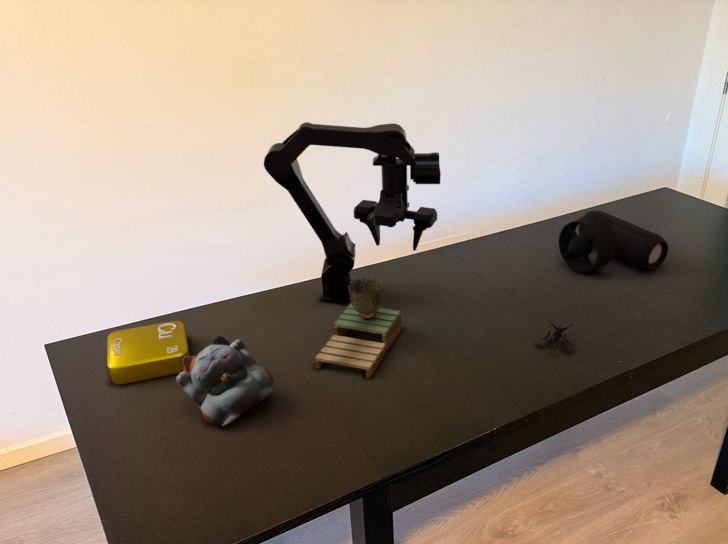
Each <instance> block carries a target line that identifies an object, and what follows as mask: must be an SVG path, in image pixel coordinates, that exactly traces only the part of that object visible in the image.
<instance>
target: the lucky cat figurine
mask: <svg viewBox="0 0 728 544" xmlns="http://www.w3.org/2000/svg"><path fill="white" fill-rule="evenodd" d="M175 380H176V383H177V384H178V386H180V387H181V388H182V389H183V391H184V392H185V393H186V395H188V396H189V397H190V399H191V400H192V401H193V402H194V403H195V404H196V405H197V407H198V408H199V409H200V411H201V413H202V416H203V418H204V419H205V420H206V422H207V423H209V424H211V425H217V426H220V427H224V426H226V425H228V424H230V423H232V422H234V421H235V420H236V419H237V418H239V417H240V416H241V415H242V414H244V413H245V412H247V411H248V410H249V409H251V408H253V407H254V406H256V405H258V404H259V403H260V402H262V401H263V400H265V399H266V397H268V396H269V395H270V394H271V393H272V392H273V391H274V389H275V381H274V378H273V376H272V374H271V373H270V372H269V370H268V369H266V368H264V367H262V366H260V365H258V362H257V361H256V359H255V357H254V356H253V355H252V353H251V352H250V351H249V349H248V348H247V346H246V344H245V342H244V341H243V339H235V340H234V341H233V342H232V343H231V342H230V341H229V340H228V339H226V338H225V337H224V336H221V335H217V336H215V338H214V340H212V343H211V344H210V345H207V346H205V347H204V348H203V349H202V350H201V351H199V352H198V353H197V354H196V355H190V356H186V357H183V366H182V370H181V371H180V373H178V375H177V376H176V378H175Z"/></svg>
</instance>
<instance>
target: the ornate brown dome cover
mask: <svg viewBox="0 0 728 544" xmlns="http://www.w3.org/2000/svg"><path fill="white" fill-rule="evenodd" d="M350 283H351V286H349V285H348V289H349V294H350V298H349V299H350V302H351V304H352V306H353V308H354V309H355V310H356V311H357V312H358V313H359V316H360V318H362V319H364V320H370V319H373V318H374V317H375V315H376V311H377V310H378V309H379V308H381V306H382V302H383V291H384V284H383V281H380V279H377V280H376V279H375V278H374V277H372V278H371V277H370V276H368V277H367V278H365V277H362V278H361V279H360V278H358V277H356V278H355V279H354V280H352V281H351V282H350Z"/></svg>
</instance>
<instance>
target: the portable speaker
mask: <svg viewBox="0 0 728 544" xmlns="http://www.w3.org/2000/svg"><path fill="white" fill-rule="evenodd" d="M590 214H592V215H597V216H599V217H601V218H603V219H604V220H605V221H606V222H607V223H608V224H609V225H610V227H611V228H612V230H613V232H614V235H615V240H616V250H615V253H614V256H613V257H616V258H618V259H619V260H622V261H624V262H626V263H628V264H630V265H632V266H634V267H637V268H638V269H641V270H646V271H647V270H651V271H652V270H653V271H655V270H656V269H659V268H660V267H661V265H663V263H664V261H665V260H666V259H667V256H668V252H669V243H668V242H667V240H665V239H664V238H663V237H662V235H660V234H658V233H656V232H653V231H651V230H648V229H646V228H644V227H641V226H639V225H637V224H634V223H632V222H629V221H627V220H624V219H622V218H619V217H617V216H616V215H612V214H611V213H607V212H605V211H602V210H590V211H588V212H586V213H585V214H584V215H583V216H585V215H590ZM580 234H586V235H587V236H589V237H590V238H591V237H593V236H594V235H593V233H592V232H591V231H590V230H589V229H588V228H587V227H585V226H584V225H581V224H579V225H578V235H580ZM592 243H593V248H596V249H598V246H597V242H596V239H593V240H592Z"/></svg>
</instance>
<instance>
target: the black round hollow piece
mask: <svg viewBox="0 0 728 544" xmlns="http://www.w3.org/2000/svg"><path fill="white" fill-rule="evenodd" d="M584 215H585V214H584ZM584 215H583V216H581V217H579V218H578V219H575V220H573V221H570V222H568V223H567V224H566V225H564V226H563V228H561V231H560V232H559V237H558V248H559V253H560V255H561V258H562V259H563V261H564V263H565V264H566V265H567V266H568V267H569V268H571V269H572V271H574V272H576V273H578V274H586V273H589V272H591V271H592V270H594V269H598V268H601V267H602V268H603V267H605V266H607V265H608V264H609V263H610V262H611V261H612V259H613V258H614V257H615V256H614V253H615V250H616V240H615V235H614V232H613V230H612V228H611V227H610V225H609V224H608V223H607V222H606V221H605V220H604V219H603V218H601V217H599V216H597V215H592V214H590V215H585V216H584ZM579 224H581V225H584V226H585V227H587V228H588V229H589V230H590V231H591V232H592V233H593V235H594V236H593V237H591V238H590V237H589V236H587V235H586V234H578V233H577V232H576V230H577V228H578V227H579ZM593 239H596V242H597V246H598V248H597V255H596V256H597V257H596V259H595V262H594V263H593V262H592V261H591V259H590V255H591V254H592V253H593V249H594V246H593V243H592V240H593Z"/></svg>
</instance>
